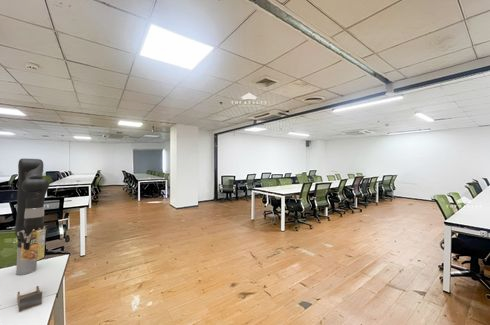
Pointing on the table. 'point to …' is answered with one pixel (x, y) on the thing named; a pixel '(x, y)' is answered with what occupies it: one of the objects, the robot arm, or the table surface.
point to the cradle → (29, 299)
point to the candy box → (34, 246)
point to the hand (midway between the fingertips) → (33, 247)
